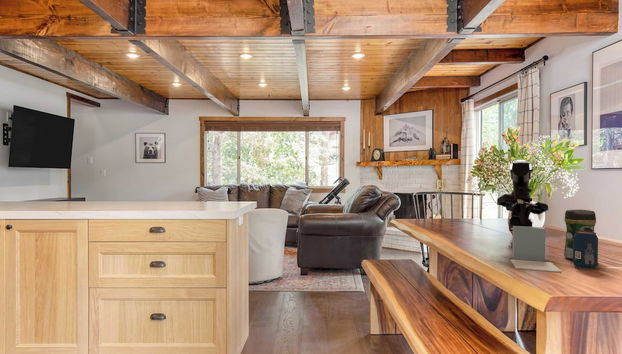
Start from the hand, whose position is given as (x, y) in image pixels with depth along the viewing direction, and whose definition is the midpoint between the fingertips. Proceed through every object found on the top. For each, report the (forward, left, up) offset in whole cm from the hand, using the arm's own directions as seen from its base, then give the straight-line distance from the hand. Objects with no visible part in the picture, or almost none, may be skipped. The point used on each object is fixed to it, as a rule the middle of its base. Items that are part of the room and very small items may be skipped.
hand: (524, 223), depth 156 cm
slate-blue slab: (+11, 0, -12) cm, 16 cm away
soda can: (+17, +16, -12) cm, 26 cm away
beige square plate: (+22, 0, -12) cm, 25 cm away
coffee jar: (+2, +18, -12) cm, 22 cm away
